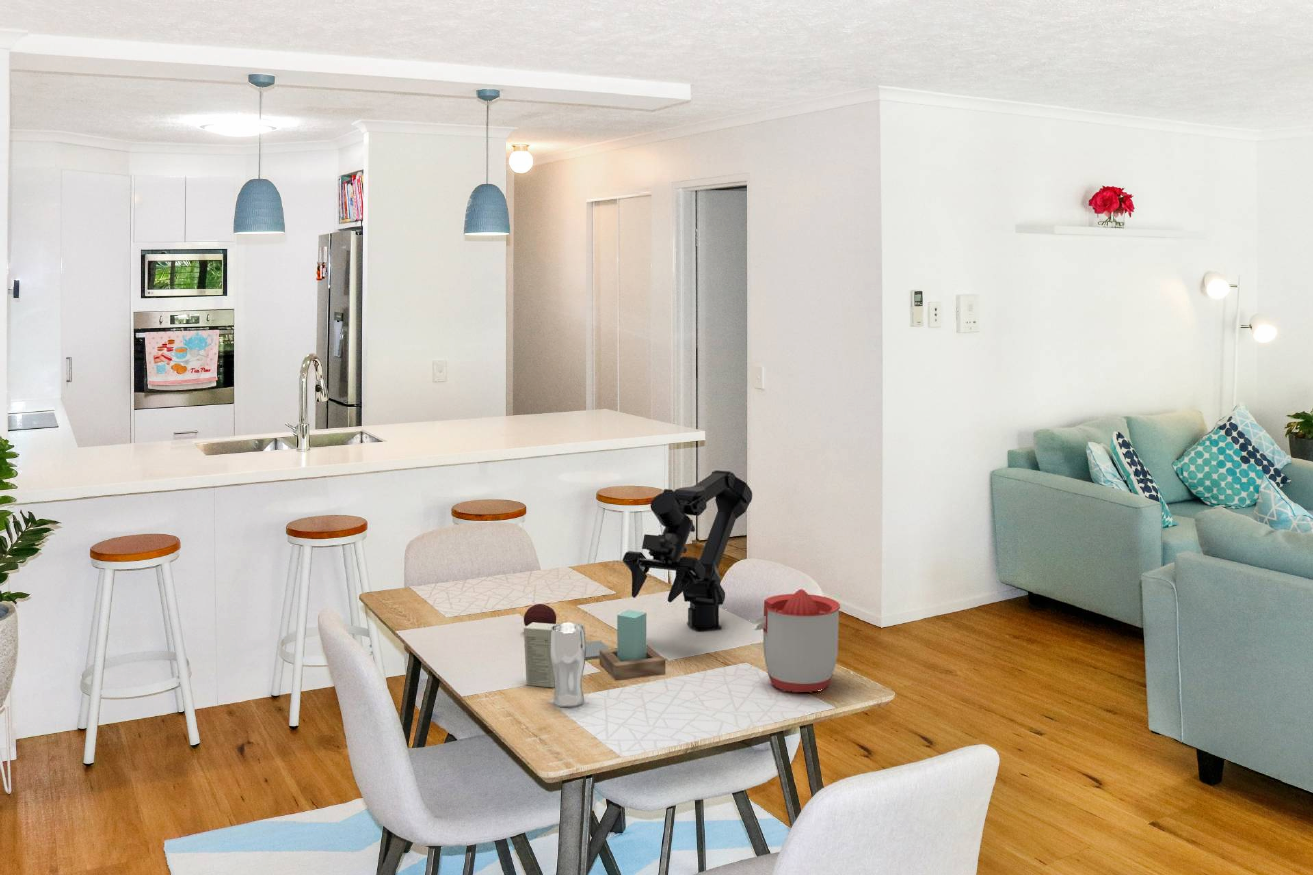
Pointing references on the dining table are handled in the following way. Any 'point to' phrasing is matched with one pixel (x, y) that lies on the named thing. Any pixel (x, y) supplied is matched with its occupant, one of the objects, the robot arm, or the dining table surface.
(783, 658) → the citrus juicer
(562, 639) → the beer glass
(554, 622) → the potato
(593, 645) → the slate coaster
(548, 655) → the skincare box
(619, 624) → the teal block
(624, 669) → the walnut pocket
